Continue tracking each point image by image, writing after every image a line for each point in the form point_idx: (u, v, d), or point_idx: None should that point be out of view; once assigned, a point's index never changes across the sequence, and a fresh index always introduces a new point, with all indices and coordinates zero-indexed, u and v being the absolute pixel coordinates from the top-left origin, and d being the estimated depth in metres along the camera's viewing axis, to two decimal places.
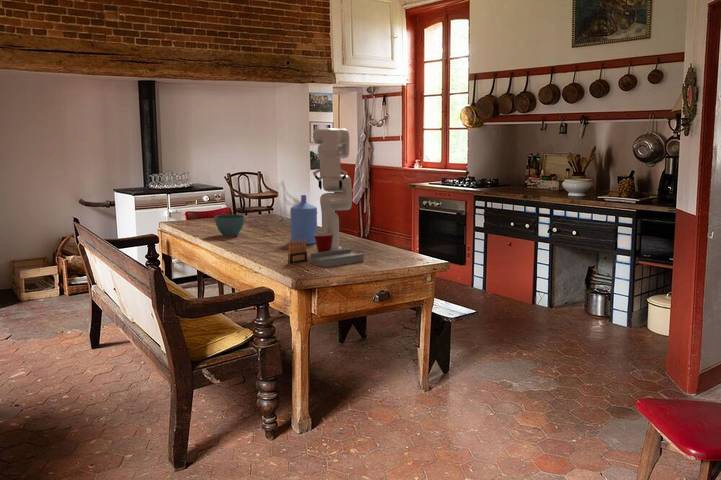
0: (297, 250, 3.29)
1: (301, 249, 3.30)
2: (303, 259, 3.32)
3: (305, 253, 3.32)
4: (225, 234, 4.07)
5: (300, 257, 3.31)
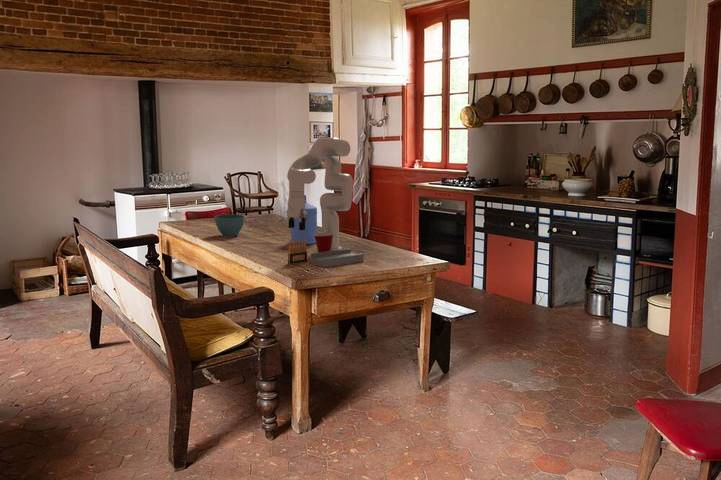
0: (297, 250, 3.29)
1: (301, 249, 3.30)
2: (303, 259, 3.32)
3: (305, 253, 3.32)
4: (225, 234, 4.07)
5: (300, 257, 3.31)
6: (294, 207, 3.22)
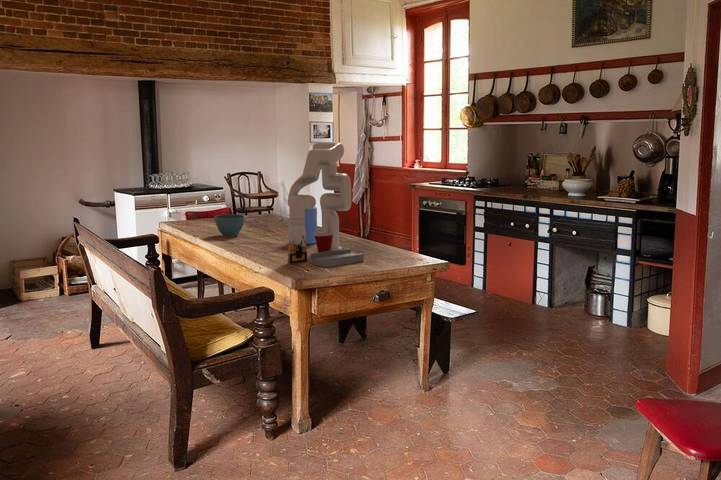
0: None
1: None
2: (303, 259, 3.32)
3: (305, 253, 3.32)
4: (225, 234, 4.07)
5: None
6: (295, 234, 3.25)
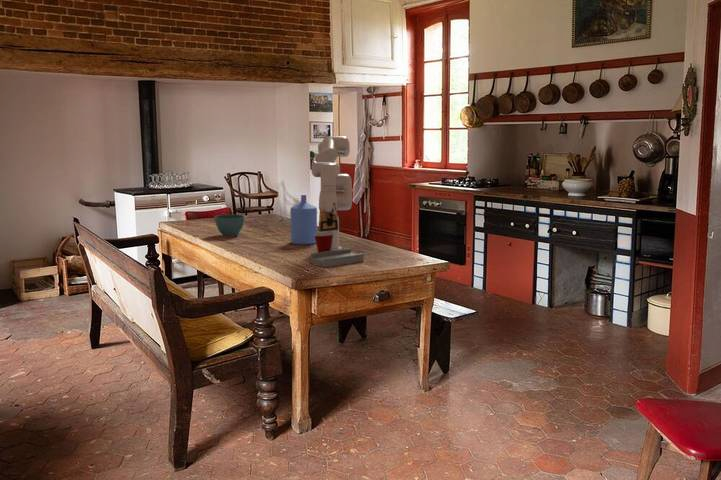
0: None
1: None
2: (334, 227, 3.29)
3: (336, 221, 3.29)
4: (225, 234, 4.07)
5: None
6: (326, 201, 3.23)
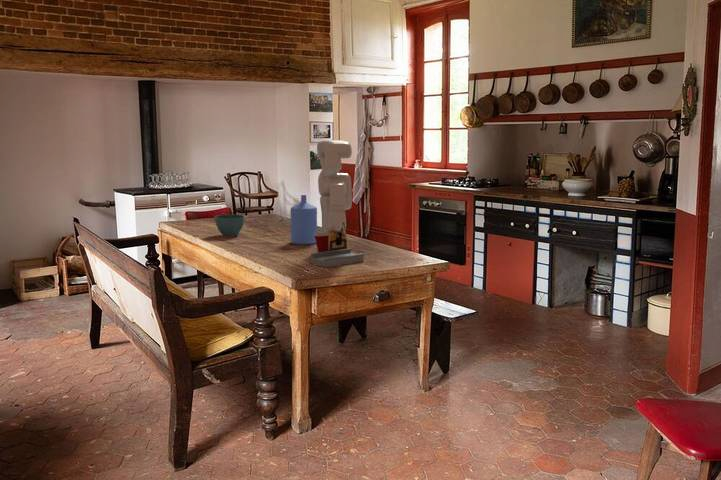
0: None
1: None
2: (343, 246, 3.31)
3: (345, 240, 3.31)
4: (225, 234, 4.07)
5: None
6: (335, 221, 3.24)
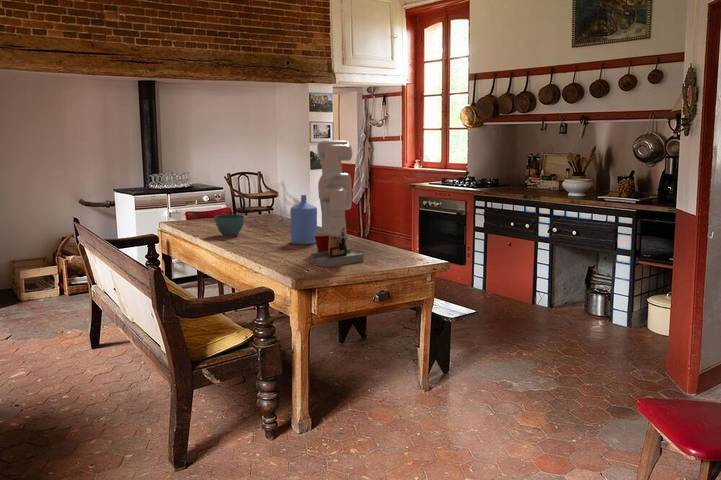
0: (337, 244, 3.29)
1: None
2: (343, 253, 3.32)
3: (345, 247, 3.32)
4: (225, 234, 4.07)
5: (340, 251, 3.31)
6: (335, 226, 3.25)
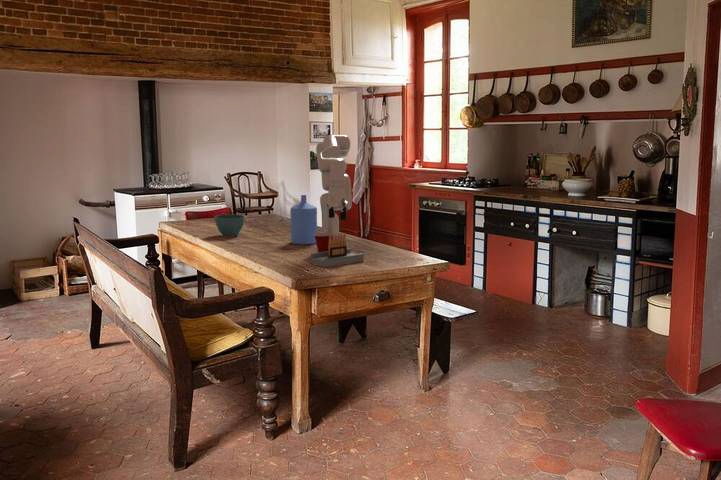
0: (337, 244, 3.29)
1: (341, 243, 3.30)
2: (343, 253, 3.32)
3: (345, 247, 3.32)
4: (225, 234, 4.07)
5: (340, 251, 3.31)
6: (335, 197, 3.22)
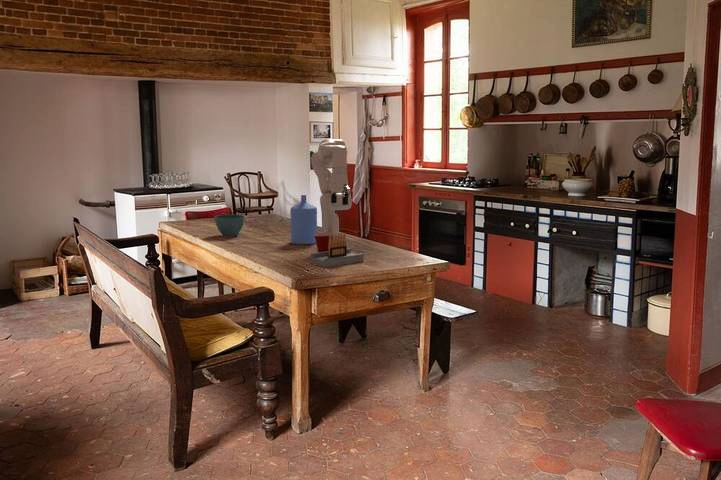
0: (337, 244, 3.29)
1: (341, 243, 3.30)
2: (343, 253, 3.32)
3: (345, 247, 3.32)
4: (225, 234, 4.07)
5: (340, 251, 3.31)
6: (337, 182, 3.33)
